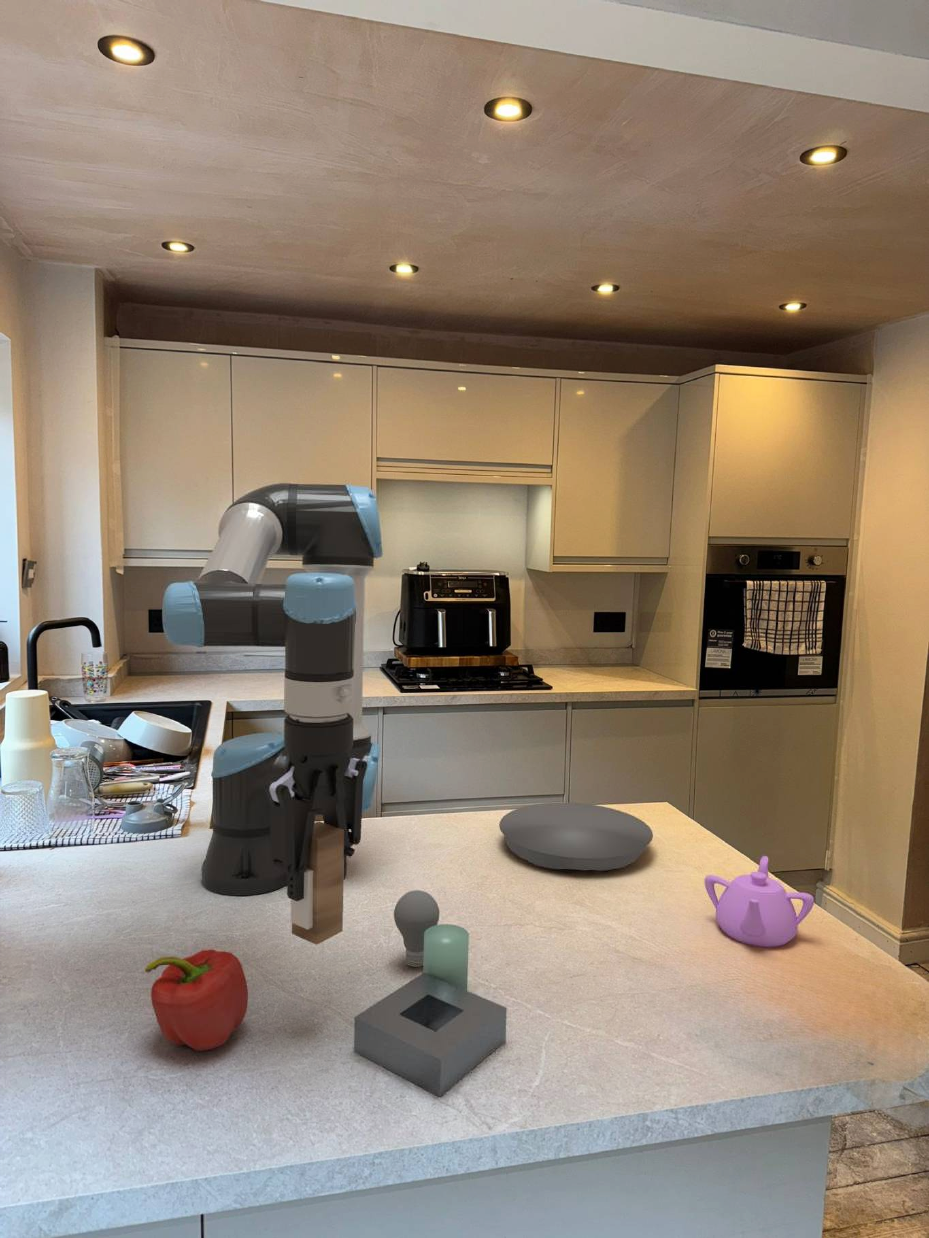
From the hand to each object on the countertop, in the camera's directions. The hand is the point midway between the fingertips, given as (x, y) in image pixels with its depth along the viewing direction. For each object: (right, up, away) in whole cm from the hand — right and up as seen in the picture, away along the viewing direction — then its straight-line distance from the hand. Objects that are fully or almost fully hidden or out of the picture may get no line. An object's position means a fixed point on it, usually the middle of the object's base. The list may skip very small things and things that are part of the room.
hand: (317, 916), depth 93 cm
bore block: (+13, -14, -1) cm, 19 cm away
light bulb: (+10, -12, +16) cm, 23 cm away
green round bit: (+14, -13, +9) cm, 21 cm away
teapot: (+59, -13, +28) cm, 67 cm away
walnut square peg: (0, -2, 0) cm, 2 cm away
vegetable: (-13, -13, -1) cm, 19 cm away
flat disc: (+37, -9, +59) cm, 70 cm away
